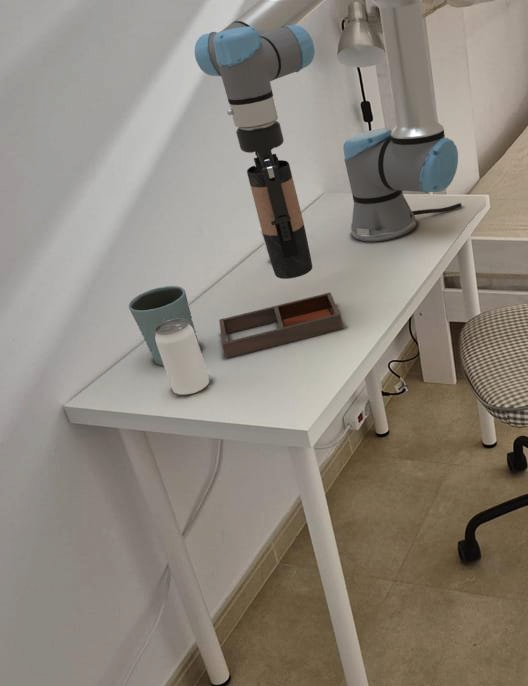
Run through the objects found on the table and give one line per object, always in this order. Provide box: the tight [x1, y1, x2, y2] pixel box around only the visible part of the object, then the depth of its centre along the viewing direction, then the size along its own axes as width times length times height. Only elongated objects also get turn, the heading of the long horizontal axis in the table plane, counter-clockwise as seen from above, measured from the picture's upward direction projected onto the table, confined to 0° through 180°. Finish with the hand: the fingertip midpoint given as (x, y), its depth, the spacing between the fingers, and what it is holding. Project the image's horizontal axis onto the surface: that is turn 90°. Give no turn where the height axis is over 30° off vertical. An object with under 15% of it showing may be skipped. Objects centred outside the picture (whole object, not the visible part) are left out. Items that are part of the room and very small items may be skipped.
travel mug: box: [246, 159, 313, 280], centre depth 157 cm, size 8×8×20 cm
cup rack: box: [218, 291, 344, 359], centre depth 166 cm, size 11×22×3 cm, turn 107°
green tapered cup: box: [128, 285, 201, 367], centre depth 161 cm, size 10×10×12 cm
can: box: [155, 318, 210, 396], centre depth 149 cm, size 6×6×12 cm
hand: (288, 247), depth 160 cm, fingers closed on travel mug, 8 cm apart
